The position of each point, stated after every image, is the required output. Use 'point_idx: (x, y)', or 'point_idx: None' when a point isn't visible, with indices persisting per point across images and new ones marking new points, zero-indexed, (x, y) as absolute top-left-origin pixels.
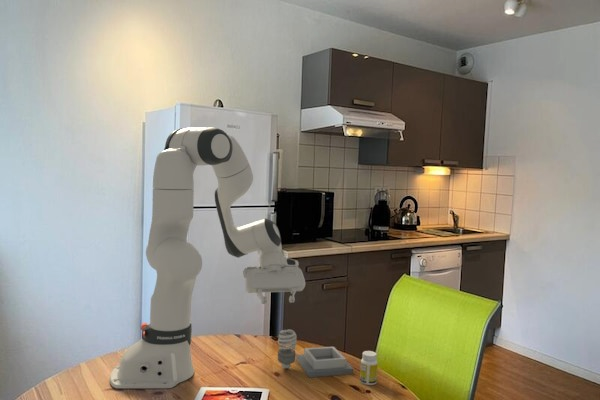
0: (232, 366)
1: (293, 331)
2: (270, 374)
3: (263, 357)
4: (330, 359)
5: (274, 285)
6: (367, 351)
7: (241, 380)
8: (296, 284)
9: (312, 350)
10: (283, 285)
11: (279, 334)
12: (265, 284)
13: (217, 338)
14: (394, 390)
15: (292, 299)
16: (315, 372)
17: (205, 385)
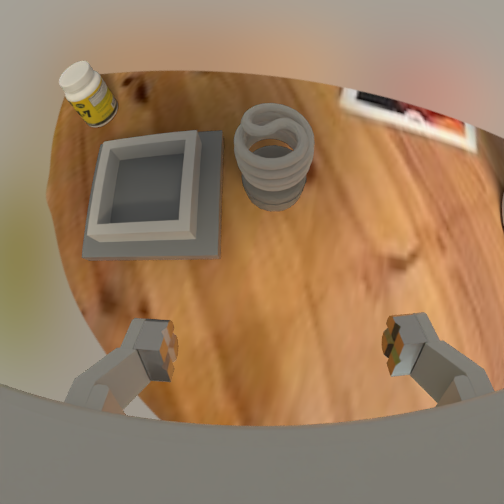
0: (427, 241)
1: (248, 120)
2: (327, 170)
3: (329, 295)
4: (144, 139)
5: (331, 438)
6: (69, 82)
7: (403, 155)
8: (37, 410)
9: (163, 222)
10: (195, 436)
11: (310, 143)
12: (451, 433)
13: None
14: None
15: (152, 320)
16: (203, 132)
17: (470, 154)
